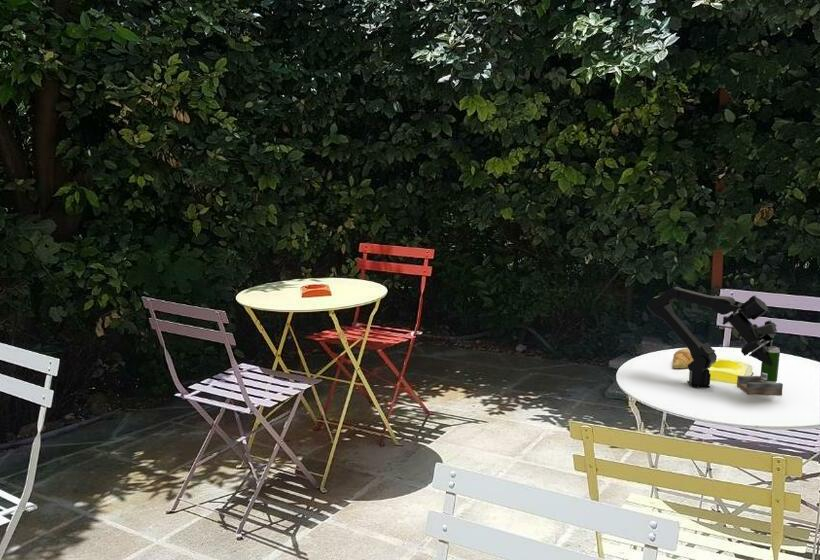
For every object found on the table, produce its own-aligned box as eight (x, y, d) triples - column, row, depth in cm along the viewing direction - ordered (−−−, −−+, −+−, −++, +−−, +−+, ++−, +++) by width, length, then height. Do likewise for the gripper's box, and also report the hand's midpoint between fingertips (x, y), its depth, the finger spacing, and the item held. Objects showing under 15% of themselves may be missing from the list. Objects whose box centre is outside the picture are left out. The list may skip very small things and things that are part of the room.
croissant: (680, 379, 290) (691, 364, 286) (660, 364, 295) (669, 348, 291) (701, 367, 305) (711, 352, 301) (681, 352, 310) (691, 338, 306)
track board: (747, 394, 260) (748, 383, 259) (736, 385, 270) (737, 375, 269) (781, 395, 259) (782, 384, 259) (769, 386, 269) (770, 376, 269)
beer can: (772, 384, 250) (775, 350, 248) (756, 380, 254) (760, 347, 252) (779, 381, 253) (783, 348, 251) (764, 377, 257) (767, 345, 255)
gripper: (754, 318, 245) (786, 356, 240) (770, 310, 259) (801, 345, 254) (728, 336, 252) (758, 374, 247) (745, 327, 266) (775, 362, 260)
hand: (774, 363), depth 252 cm, fingers closed on beer can, 5 cm apart
